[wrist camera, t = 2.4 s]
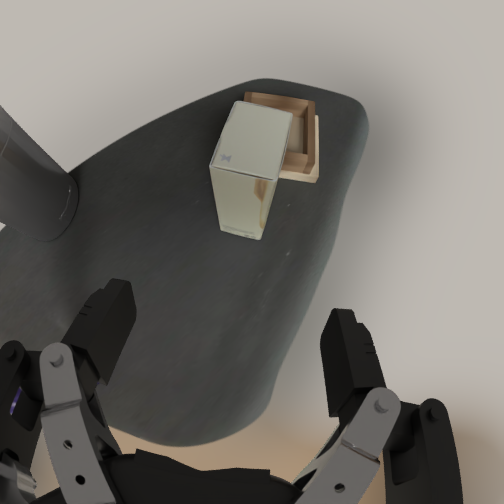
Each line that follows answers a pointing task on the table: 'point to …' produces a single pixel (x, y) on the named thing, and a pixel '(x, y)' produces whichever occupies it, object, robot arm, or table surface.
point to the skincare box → (248, 166)
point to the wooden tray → (295, 135)
